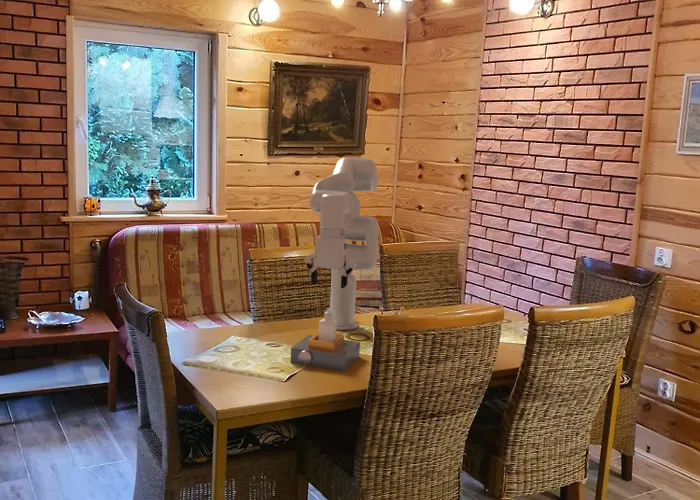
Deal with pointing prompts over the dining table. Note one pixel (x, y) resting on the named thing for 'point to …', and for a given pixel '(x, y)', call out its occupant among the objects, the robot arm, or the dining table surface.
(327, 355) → the grey scale with tray
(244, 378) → the dining table surface
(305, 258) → the robot arm
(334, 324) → the eye dropper bottle
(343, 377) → the dining table surface
